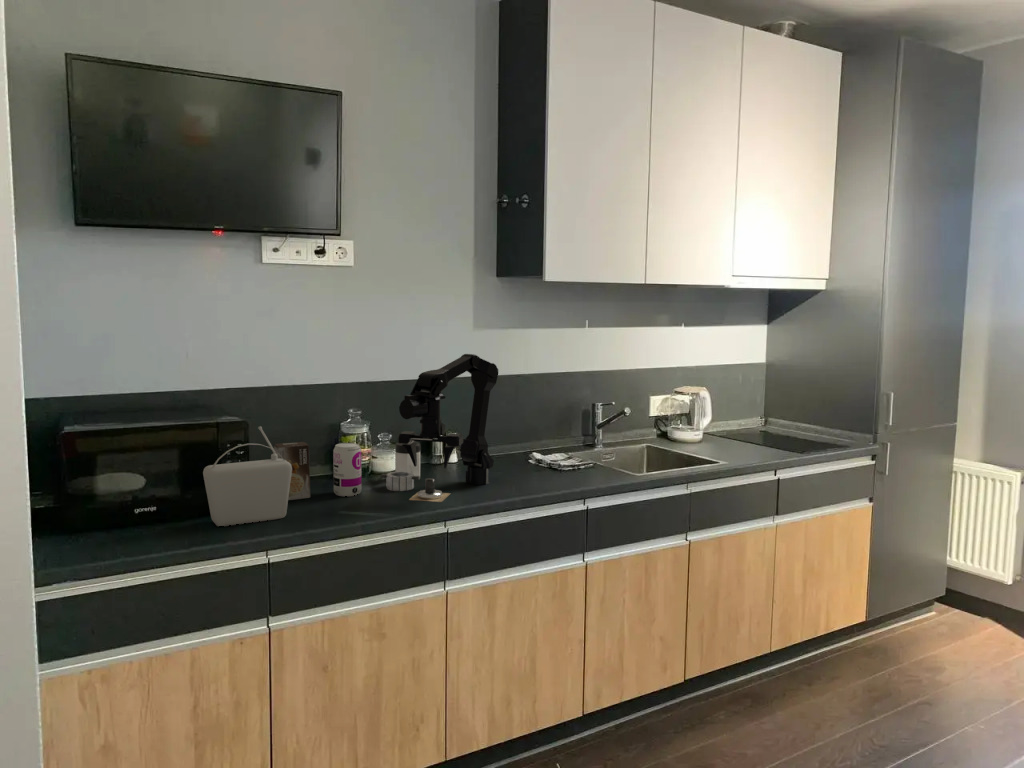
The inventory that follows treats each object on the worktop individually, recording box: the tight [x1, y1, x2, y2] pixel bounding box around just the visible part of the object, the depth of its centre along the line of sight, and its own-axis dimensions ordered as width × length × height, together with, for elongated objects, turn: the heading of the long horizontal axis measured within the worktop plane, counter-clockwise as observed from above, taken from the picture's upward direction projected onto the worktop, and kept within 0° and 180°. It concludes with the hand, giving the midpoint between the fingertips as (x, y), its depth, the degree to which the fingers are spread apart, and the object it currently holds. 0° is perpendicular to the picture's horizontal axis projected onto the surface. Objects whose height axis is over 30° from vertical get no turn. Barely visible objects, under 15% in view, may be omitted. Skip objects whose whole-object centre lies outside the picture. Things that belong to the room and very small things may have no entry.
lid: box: [417, 477, 443, 500], centre depth 235 cm, size 7×7×5 cm
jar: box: [394, 441, 422, 477], centre depth 259 cm, size 9×8×12 cm
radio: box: [202, 425, 292, 527], centre depth 210 cm, size 22×8×25 cm, turn 123°
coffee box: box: [273, 441, 311, 501], centre depth 234 cm, size 9×6×16 cm
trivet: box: [408, 491, 451, 503], centre depth 235 cm, size 10×10×1 cm
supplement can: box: [332, 442, 362, 497], centre depth 239 cm, size 8×8×15 cm
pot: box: [380, 471, 421, 492], centre depth 245 cm, size 12×8×5 cm
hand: (430, 467), depth 234 cm, fingers open, 9 cm apart
